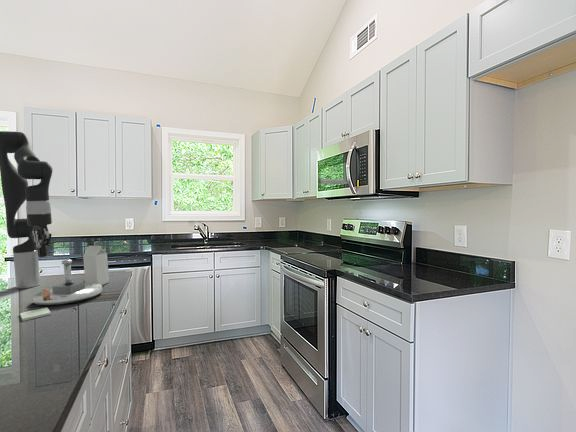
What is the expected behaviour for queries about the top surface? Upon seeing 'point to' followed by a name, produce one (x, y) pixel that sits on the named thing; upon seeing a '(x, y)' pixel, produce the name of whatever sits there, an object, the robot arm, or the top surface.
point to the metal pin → (67, 271)
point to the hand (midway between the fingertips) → (42, 256)
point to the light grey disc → (67, 293)
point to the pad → (35, 314)
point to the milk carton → (96, 265)
